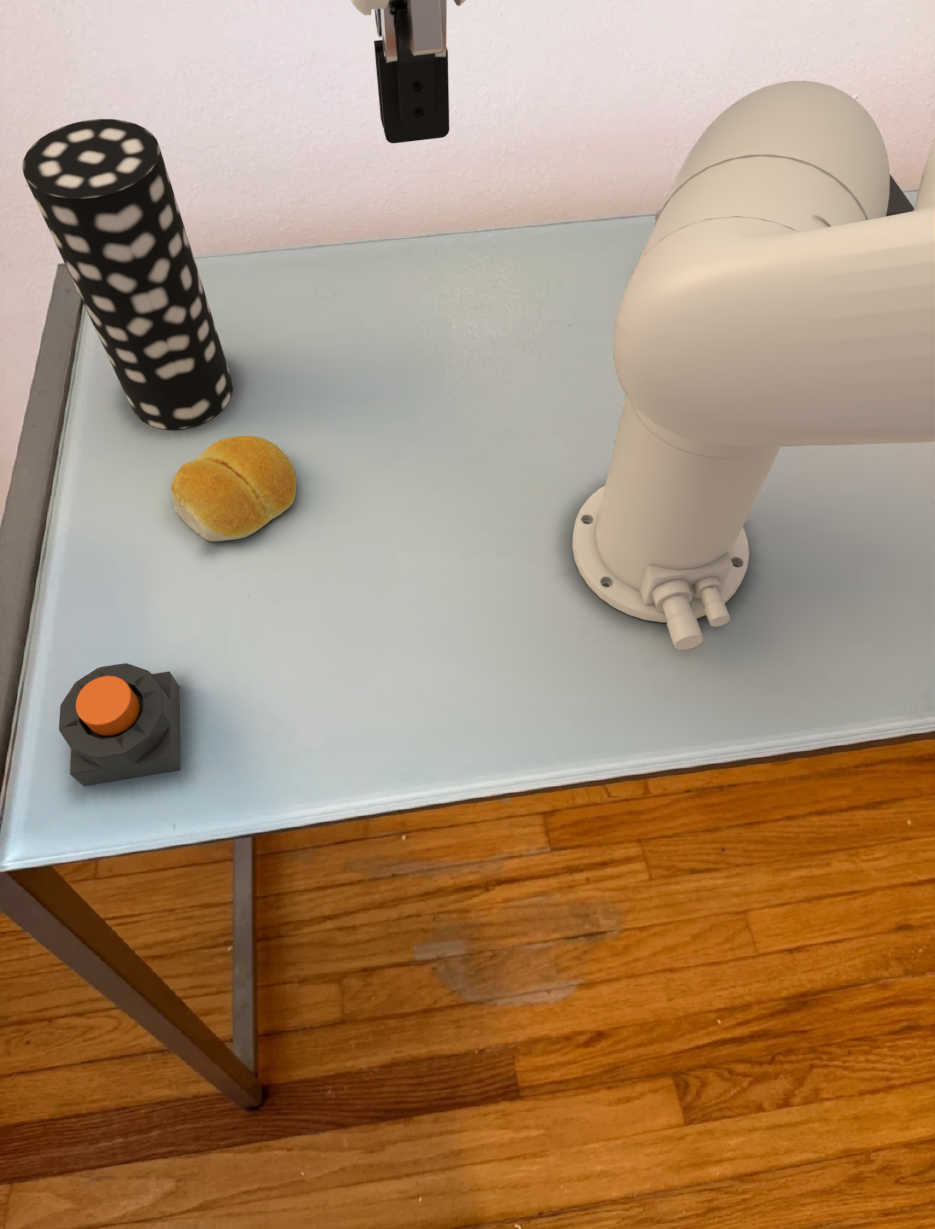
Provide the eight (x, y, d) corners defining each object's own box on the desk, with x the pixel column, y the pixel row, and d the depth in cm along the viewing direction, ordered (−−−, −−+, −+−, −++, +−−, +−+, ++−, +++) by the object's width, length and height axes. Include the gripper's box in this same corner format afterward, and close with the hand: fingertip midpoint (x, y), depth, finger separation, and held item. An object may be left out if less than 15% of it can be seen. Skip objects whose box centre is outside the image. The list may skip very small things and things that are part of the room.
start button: (139, 731, 52) (130, 719, 50) (85, 740, 51) (74, 728, 50) (140, 684, 53) (131, 671, 52) (87, 692, 53) (76, 679, 52)
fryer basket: (668, 310, 75) (686, 241, 69) (641, 248, 79) (655, 178, 73) (841, 289, 76) (872, 219, 70) (805, 229, 80) (833, 159, 75)
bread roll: (319, 492, 66) (311, 457, 62) (226, 563, 62) (212, 530, 59) (250, 435, 68) (238, 398, 65) (157, 500, 65) (140, 465, 62)
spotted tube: (249, 368, 72) (183, 132, 55) (204, 440, 68) (117, 210, 51) (160, 346, 73) (67, 109, 56) (111, 416, 69) (-5, 183, 52)
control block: (181, 770, 54) (162, 747, 51) (82, 787, 54) (56, 764, 50) (180, 684, 57) (162, 657, 54) (86, 699, 57) (61, 672, 53)
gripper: (249, -484, 31) (323, 61, 47) (288, -368, 23) (361, 234, 39) (455, -493, 32) (459, 47, 47) (557, -384, 24) (522, 213, 40)
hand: (415, 130), depth 43 cm, fingers closed
